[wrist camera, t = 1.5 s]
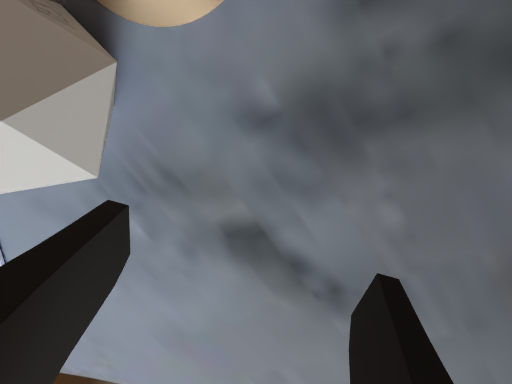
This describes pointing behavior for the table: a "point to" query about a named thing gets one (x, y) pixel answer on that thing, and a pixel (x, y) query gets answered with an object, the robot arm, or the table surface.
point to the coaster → (161, 10)
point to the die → (51, 97)
